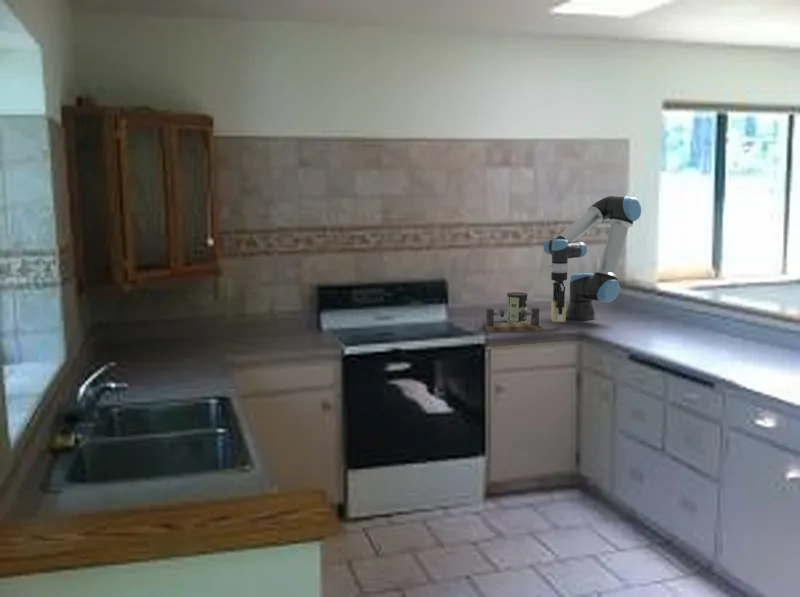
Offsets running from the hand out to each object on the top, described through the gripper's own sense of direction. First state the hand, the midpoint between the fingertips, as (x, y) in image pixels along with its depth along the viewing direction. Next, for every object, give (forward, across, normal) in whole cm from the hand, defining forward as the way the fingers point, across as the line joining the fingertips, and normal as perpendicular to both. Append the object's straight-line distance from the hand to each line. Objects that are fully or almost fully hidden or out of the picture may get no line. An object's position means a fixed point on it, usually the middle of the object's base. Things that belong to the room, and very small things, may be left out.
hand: (558, 319), depth 386 cm
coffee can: (+5, -19, -16) cm, 25 cm away
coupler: (+1, 0, 0) cm, 1 cm away
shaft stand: (+4, 0, -22) cm, 23 cm away
